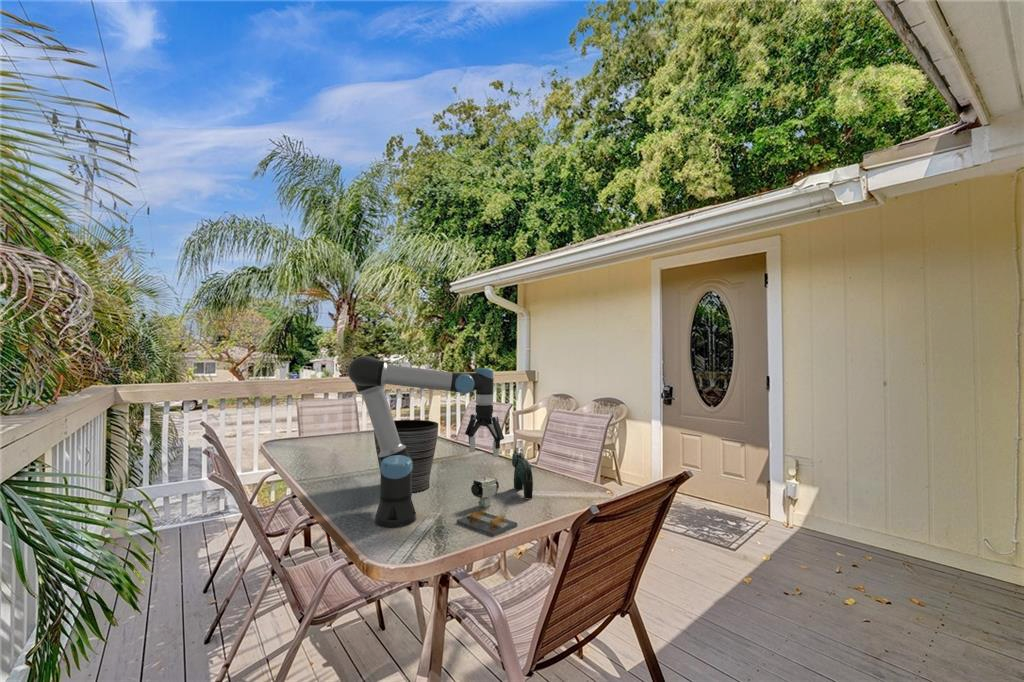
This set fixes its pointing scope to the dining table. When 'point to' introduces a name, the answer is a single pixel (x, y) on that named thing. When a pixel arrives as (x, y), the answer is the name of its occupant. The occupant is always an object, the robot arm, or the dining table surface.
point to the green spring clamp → (522, 474)
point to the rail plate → (486, 522)
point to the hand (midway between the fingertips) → (483, 454)
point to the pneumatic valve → (485, 490)
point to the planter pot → (417, 448)
